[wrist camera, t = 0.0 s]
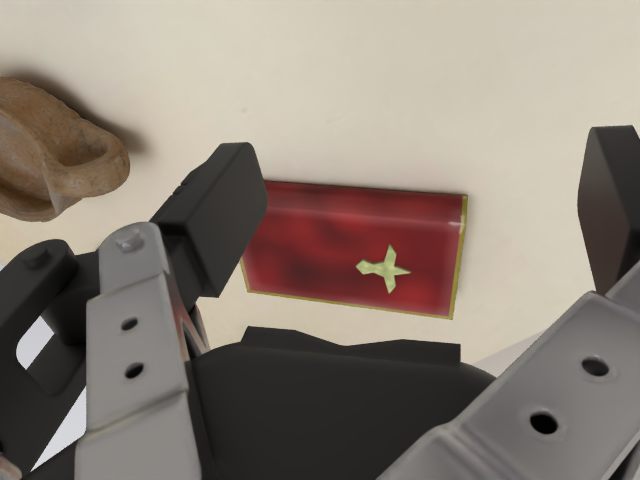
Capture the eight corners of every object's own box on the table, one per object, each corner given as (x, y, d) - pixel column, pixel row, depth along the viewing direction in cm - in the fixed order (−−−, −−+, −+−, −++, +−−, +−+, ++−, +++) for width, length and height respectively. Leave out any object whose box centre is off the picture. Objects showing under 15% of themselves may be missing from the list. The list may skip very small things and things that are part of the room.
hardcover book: (239, 175, 46) (222, 200, 43) (467, 191, 41) (466, 222, 38) (260, 267, 53) (246, 293, 50) (454, 290, 48) (452, 322, 45)
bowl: (84, 30, 38) (20, 116, 33) (174, 153, 49) (138, 233, 44) (-67, 62, 44) (-142, 138, 39) (44, 165, 55) (-2, 237, 50)
